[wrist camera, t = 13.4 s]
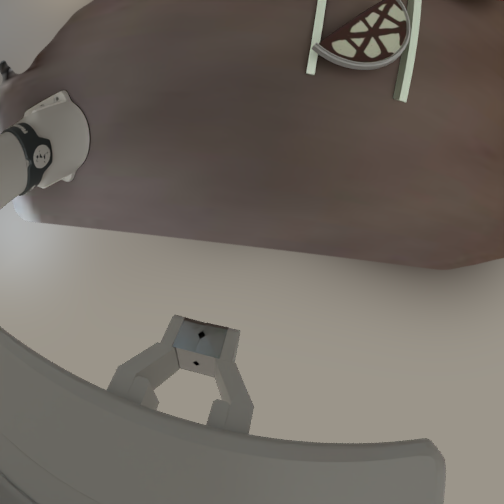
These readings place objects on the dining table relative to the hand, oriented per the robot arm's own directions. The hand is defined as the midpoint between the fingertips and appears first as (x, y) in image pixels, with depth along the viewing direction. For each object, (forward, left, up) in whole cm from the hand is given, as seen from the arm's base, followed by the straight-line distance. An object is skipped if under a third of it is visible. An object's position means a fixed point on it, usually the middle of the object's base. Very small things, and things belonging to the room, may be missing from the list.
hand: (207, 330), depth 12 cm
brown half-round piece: (+8, +17, -31) cm, 36 cm away
